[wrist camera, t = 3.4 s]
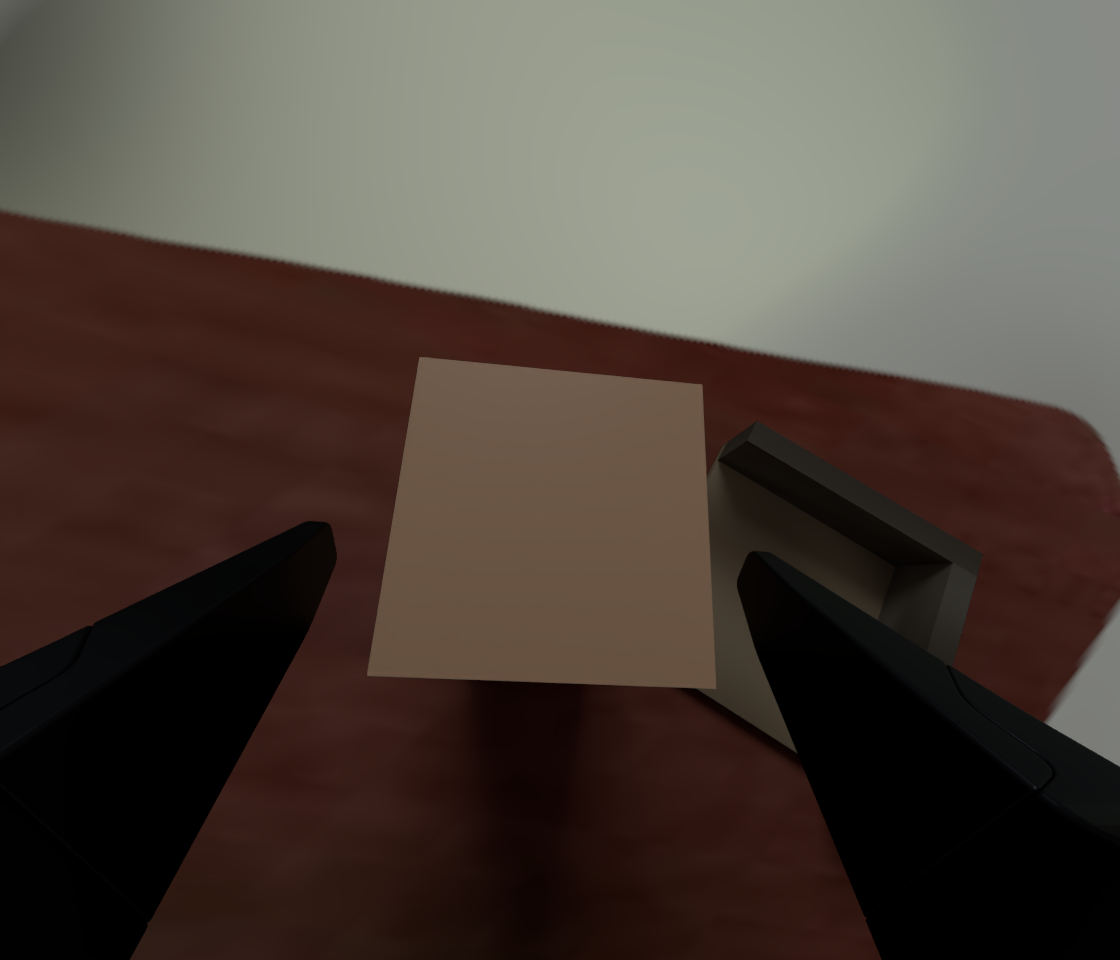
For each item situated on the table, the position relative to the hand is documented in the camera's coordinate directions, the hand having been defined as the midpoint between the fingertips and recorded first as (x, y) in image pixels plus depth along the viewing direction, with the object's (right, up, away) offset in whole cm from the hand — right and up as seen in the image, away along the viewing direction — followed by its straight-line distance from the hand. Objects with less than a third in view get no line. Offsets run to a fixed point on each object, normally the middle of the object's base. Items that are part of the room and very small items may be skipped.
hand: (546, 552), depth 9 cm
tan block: (-1, -2, +8) cm, 8 cm away
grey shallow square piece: (+9, -4, +9) cm, 13 cm away
